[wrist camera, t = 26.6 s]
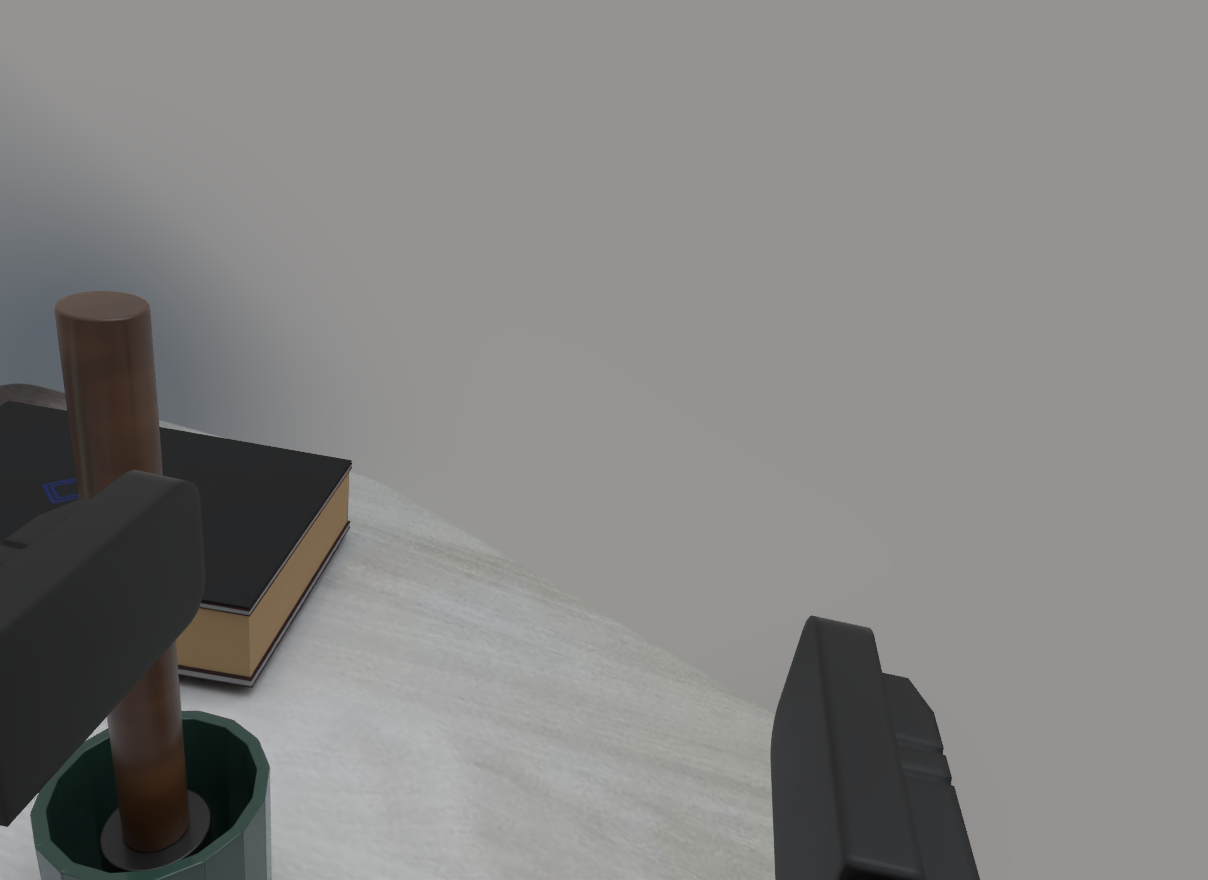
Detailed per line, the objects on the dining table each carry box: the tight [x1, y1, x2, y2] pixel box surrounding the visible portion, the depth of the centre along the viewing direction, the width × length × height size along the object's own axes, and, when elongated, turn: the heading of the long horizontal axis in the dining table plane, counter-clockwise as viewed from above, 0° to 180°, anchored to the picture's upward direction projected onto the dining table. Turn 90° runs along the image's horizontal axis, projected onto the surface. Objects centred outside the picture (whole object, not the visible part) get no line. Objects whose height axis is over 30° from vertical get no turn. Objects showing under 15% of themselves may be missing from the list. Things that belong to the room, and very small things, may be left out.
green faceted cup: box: [30, 711, 272, 880], centre depth 36 cm, size 8×8×9 cm
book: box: [0, 401, 352, 688], centre depth 57 cm, size 17×25×7 cm
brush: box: [54, 291, 213, 873], centre depth 31 cm, size 4×4×28 cm
